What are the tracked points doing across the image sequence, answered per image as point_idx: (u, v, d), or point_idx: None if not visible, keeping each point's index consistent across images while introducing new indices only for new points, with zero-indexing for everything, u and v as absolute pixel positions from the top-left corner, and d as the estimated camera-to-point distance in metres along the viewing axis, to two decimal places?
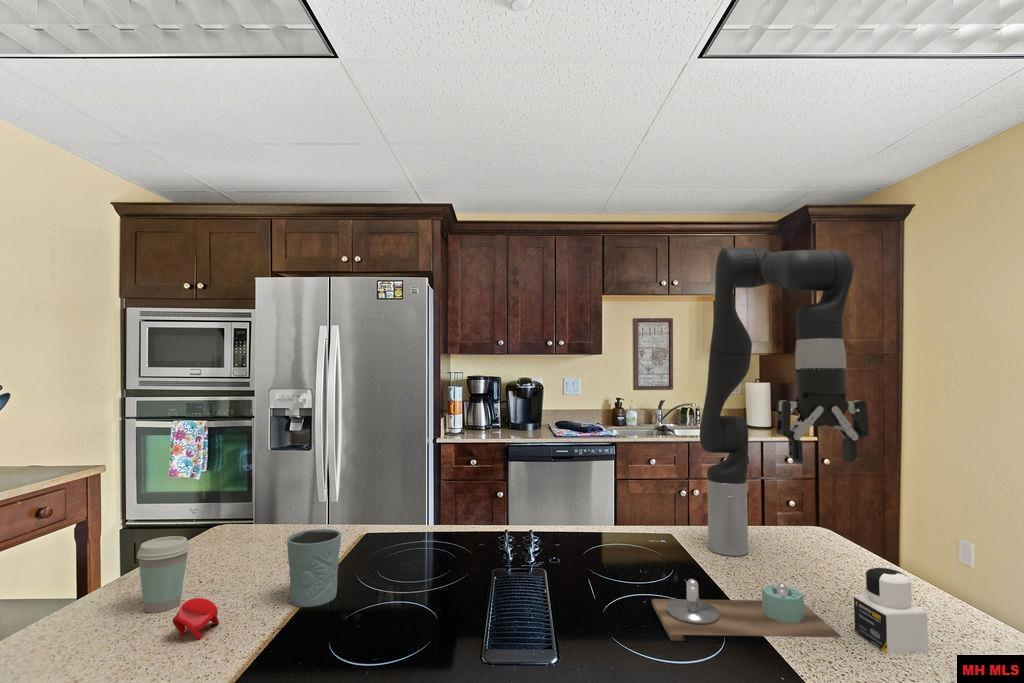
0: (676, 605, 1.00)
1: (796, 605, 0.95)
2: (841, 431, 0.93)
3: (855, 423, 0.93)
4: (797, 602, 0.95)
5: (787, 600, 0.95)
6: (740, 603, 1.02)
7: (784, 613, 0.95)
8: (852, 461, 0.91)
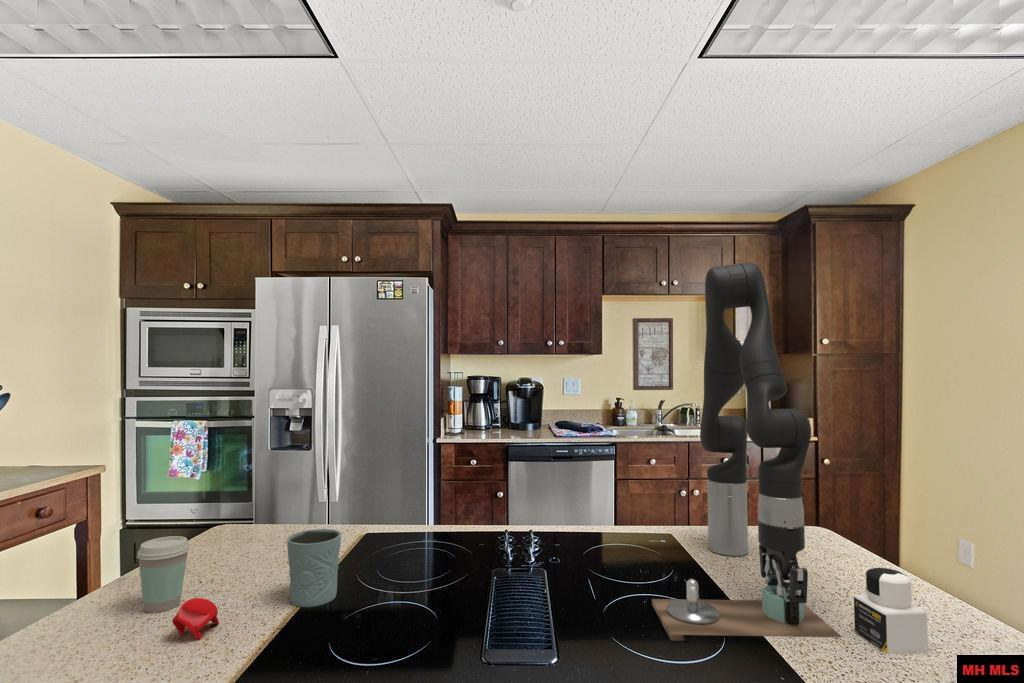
0: (676, 605, 1.00)
1: None
2: (770, 578, 1.01)
3: None
4: None
5: None
6: (740, 603, 1.02)
7: (784, 613, 0.95)
8: None
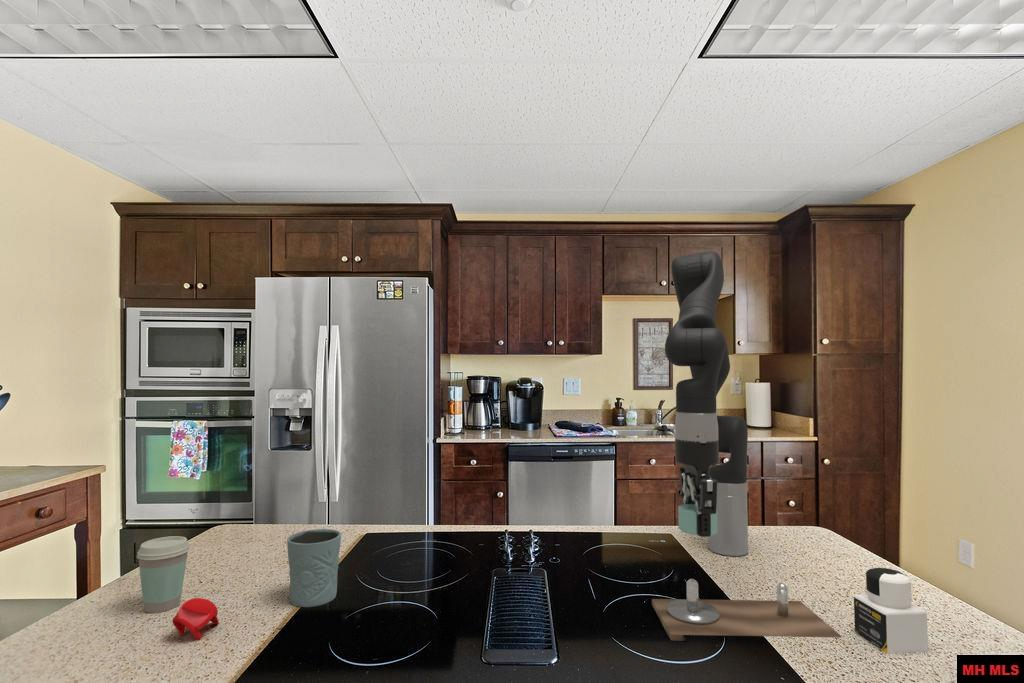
0: (676, 605, 1.00)
1: None
2: (688, 497, 1.02)
3: None
4: None
5: None
6: (740, 603, 1.02)
7: None
8: None
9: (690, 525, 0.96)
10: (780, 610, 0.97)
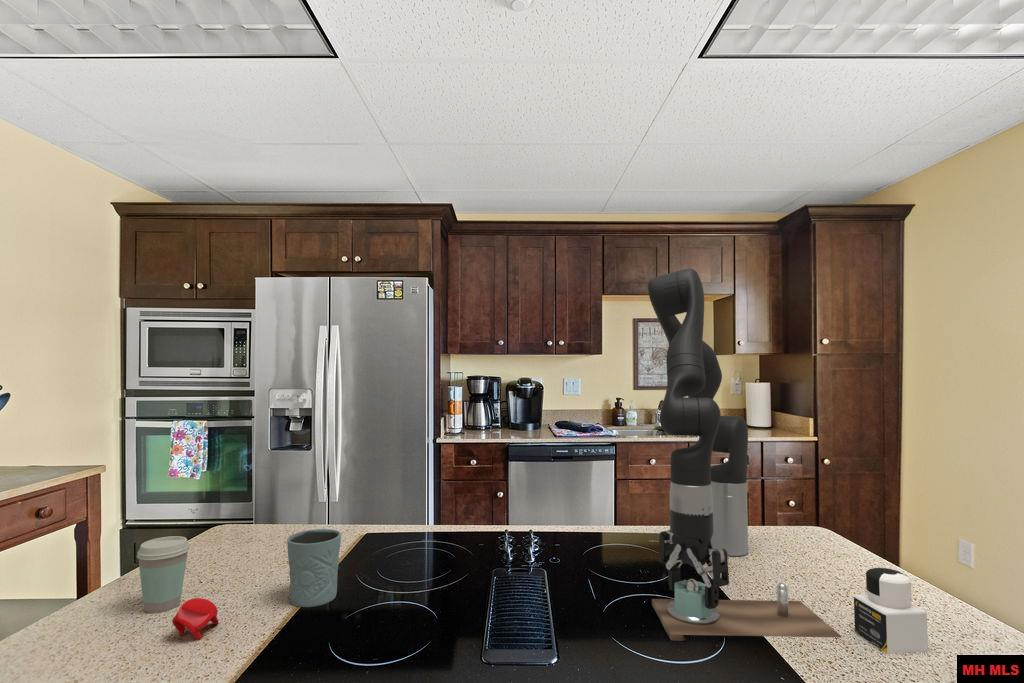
0: None
1: None
2: (674, 564, 1.01)
3: None
4: None
5: (703, 595, 0.95)
6: (740, 603, 1.02)
7: (701, 609, 0.95)
8: None
9: (694, 608, 0.95)
10: (780, 610, 0.97)
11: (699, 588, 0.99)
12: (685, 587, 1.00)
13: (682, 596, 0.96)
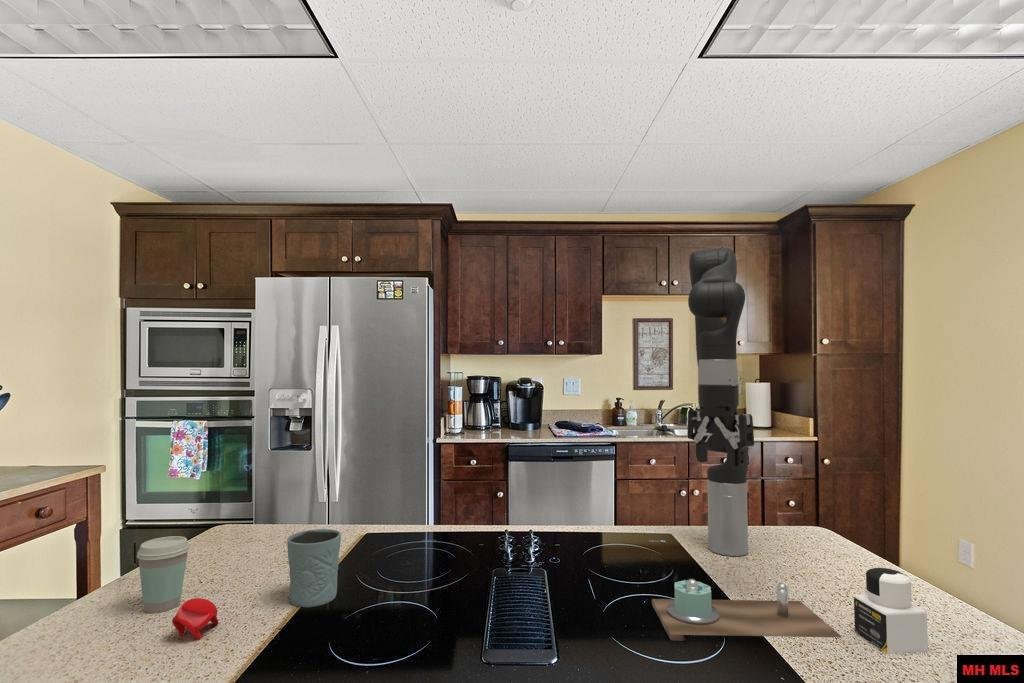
0: None
1: (710, 598, 0.96)
2: (701, 437, 1.10)
3: None
4: (710, 595, 0.96)
5: (703, 595, 0.95)
6: (740, 603, 1.02)
7: (701, 609, 0.95)
8: None
9: (694, 608, 0.95)
10: (780, 610, 0.97)
11: (699, 588, 0.99)
12: (685, 587, 1.00)
13: (682, 596, 0.96)
